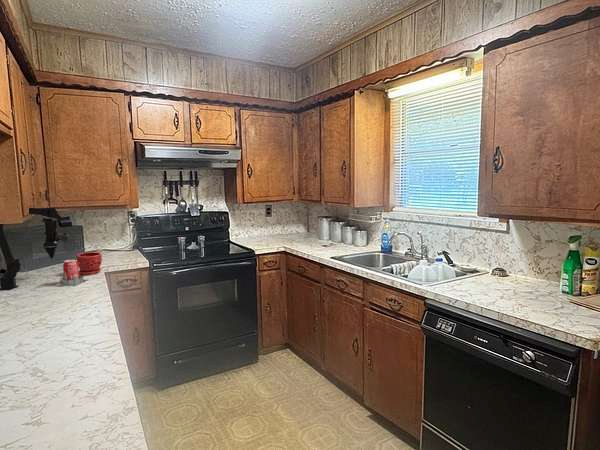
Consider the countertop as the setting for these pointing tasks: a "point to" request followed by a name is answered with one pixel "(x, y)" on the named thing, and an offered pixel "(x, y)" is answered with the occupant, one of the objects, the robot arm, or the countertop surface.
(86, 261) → the plant pot
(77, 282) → the duct collar
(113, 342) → the countertop surface
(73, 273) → the soda can
